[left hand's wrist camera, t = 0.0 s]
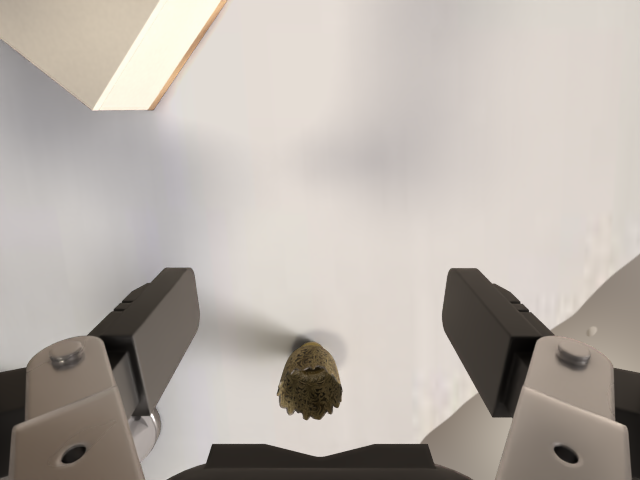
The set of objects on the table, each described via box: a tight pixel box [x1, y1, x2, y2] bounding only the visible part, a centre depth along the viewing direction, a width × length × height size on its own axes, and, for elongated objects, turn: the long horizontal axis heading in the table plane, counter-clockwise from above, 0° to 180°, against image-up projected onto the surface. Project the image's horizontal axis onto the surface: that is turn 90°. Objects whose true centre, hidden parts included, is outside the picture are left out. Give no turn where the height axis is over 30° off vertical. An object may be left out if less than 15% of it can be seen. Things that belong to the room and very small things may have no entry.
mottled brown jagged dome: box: [277, 342, 342, 420], centre depth 43 cm, size 8×7×8 cm
